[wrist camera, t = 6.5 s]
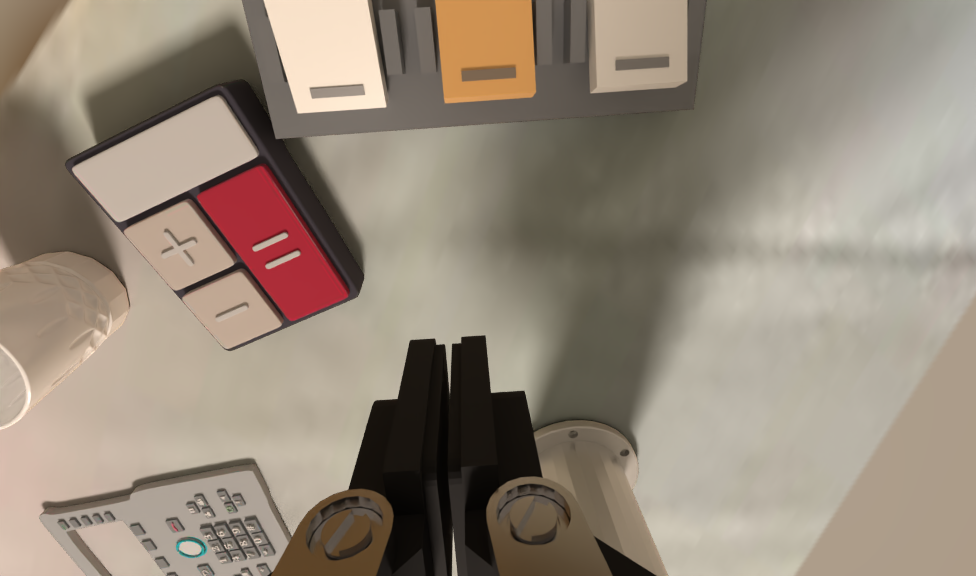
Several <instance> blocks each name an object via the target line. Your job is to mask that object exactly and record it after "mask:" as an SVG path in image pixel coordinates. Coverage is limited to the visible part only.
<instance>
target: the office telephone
mask: <svg viewBox="0 0 976 576" xmlns="http://www.w3.org/2000/svg"><path fill="white" fill-rule="evenodd" d="M39 519H40V521H41V522H42V524H43V525H44V526H45V528H46V529H47V530H48V531H49V532H50V534H51V535H52V536H53V537H54V538H55V540H56V541H57V542H58V543H59V544H60V546H61V547H62V548H63V549H64V550H65V551H66V553H67V554H68V555H69V556H70V557H71V559H72V560H73V561H74V562H75V563H76V564H77V566H78V567H79V568H80V569H81V570H82V571H83V573H84V574H85V575H86V576H111V575H110V574H109V572H108V571H107V570H106V569H105V567H104V566H103V565H102V564H101V563H100V561H99V560H98V559H97V558H96V557H95V555H94V554H93V553H92V552H91V550H90V549H89V548H88V547H87V546H86V544H85V543H84V542H83V540H82V539H81V538H80V536H79V535H78V534H77V532H76V531H75V529H80V528H85V527H90V526H95V525H100V524H105V523H111V522H117V521H124V523H125V524H126V525H127V526H128V528H129V529H130V530H131V531H132V532H133V534H134V535H135V536H136V538H137V539H138V540H139V541H140V543H141V544H142V545H143V547H144V548H145V549H146V550H147V552H148V553H149V554H150V556H151V557H152V558H153V560H154V561H155V562H156V563H157V565H158V566H159V567H160V569H161V570H162V571H163V573H164V574H165V575H166V576H267V575H269V574H270V573H271V572H273V571H274V569H275V567H276V565H277V564H278V562H279V560H280V558H281V556H282V555H283V553H284V551H285V549H286V547H287V545H288V544H289V542H290V540H291V536H290V534H289V532H288V530H287V529H286V527H285V525H284V523H283V521H282V519H281V517H280V515H279V513H278V511H277V509H276V507H275V505H274V503H273V501H272V498H271V496H270V492H269V490H268V487H267V485H266V483H265V481H264V479H263V477H262V475H261V473H260V471H259V469H258V467H257V466H256V464H246V465H239V466H234V467H229V468H223V469H218V470H213V471H208V472H202V473H197V474H192V475H187V476H181V477H176V478H171V479H166V480H160V481H155V482H150V483H147V484H143V485H139V486H137V487H136V488H135V489H134V491H133V492H132V494H128V495H125V496H120V497H115V498H110V499H105V500H100V501H94V502H89V503H83V504H78V505H72V506H67V507H48V508H46V509H45V511H44V512H43V513H42V514H41V515H40V516H39Z"/></svg>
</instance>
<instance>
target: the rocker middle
mask: <svg viewBox="0 0 976 576" xmlns="http://www.w3.org/2000/svg"><path fill="white" fill-rule="evenodd" d="M435 3H436V14H437V25H438V37H439V48H440V59H441V71H442V82H443V93H444V101H445V103H459V102H474V101H488V100H502V99H517V98H531V97H533V96H534V94H535V93H536V81H535V62H534V42H533V22H532V3H531V0H435Z"/></svg>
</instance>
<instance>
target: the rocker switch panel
mask: <svg viewBox="0 0 976 576" xmlns="http://www.w3.org/2000/svg"><path fill="white" fill-rule="evenodd" d="M371 1H372V6H373V12H374V18H375V24H376V29H377V35H378V41H379V47H380V52H381V58H382V64H383V70H384V75H385V81H386V87H387V93H388V103H387V107H384V108H370V109H356V110H341V111H327V112H313V113H297V109H296V106H295V103H294V99H293V96H292V93H291V90H290V86H289V83H288V80H287V76H286V73H285V70H284V66H283V63H282V60H281V56H280V53H279V50H278V46H277V43H276V40H275V37H274V33H273V30H272V27H271V23H270V20H269V17H268V13H267V10H266V7H265V3H264V0H242V3H243V7H244V11H245V15H246V19H247V23H248V27H249V31H250V35H251V40H252V44H253V48H254V52H255V56H256V60H257V64H258V68H259V72H260V76H261V80H262V85H263V89H264V93H265V97H266V101H267V105H268V109H269V113H270V117H271V121H272V126H273V130H274V134H275V138H276V139H284V138H298V137H312V136H326V135H340V134H354V133H368V132H382V131H396V130H410V129H424V128H438V127H452V126H466V125H480V124H494V123H508V122H522V121H536V120H550V119H564V118H578V117H592V116H606V115H620V114H634V113H648V112H662V111H676V110H690V109H694V102H695V94H696V86H697V77H698V69H699V60H700V52H701V44H702V35H703V27H704V19H705V10H706V2H707V0H687V82H685V83H683V84H681V85H679V86H677V87H676V88H661V89H647V90H632V91H618V92H604V93H590V78H589V49H588V20H587V0H531V3H532V22H533V42H534V62H535V81H536V93H535V94H534V96H533V97H531V98H517V99H502V100H488V101H474V102H459V103H445V101H444V93H443V82H442V71H441V59H440V48H439V37H438V25H437V14H436V3H435V0H371Z"/></svg>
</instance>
